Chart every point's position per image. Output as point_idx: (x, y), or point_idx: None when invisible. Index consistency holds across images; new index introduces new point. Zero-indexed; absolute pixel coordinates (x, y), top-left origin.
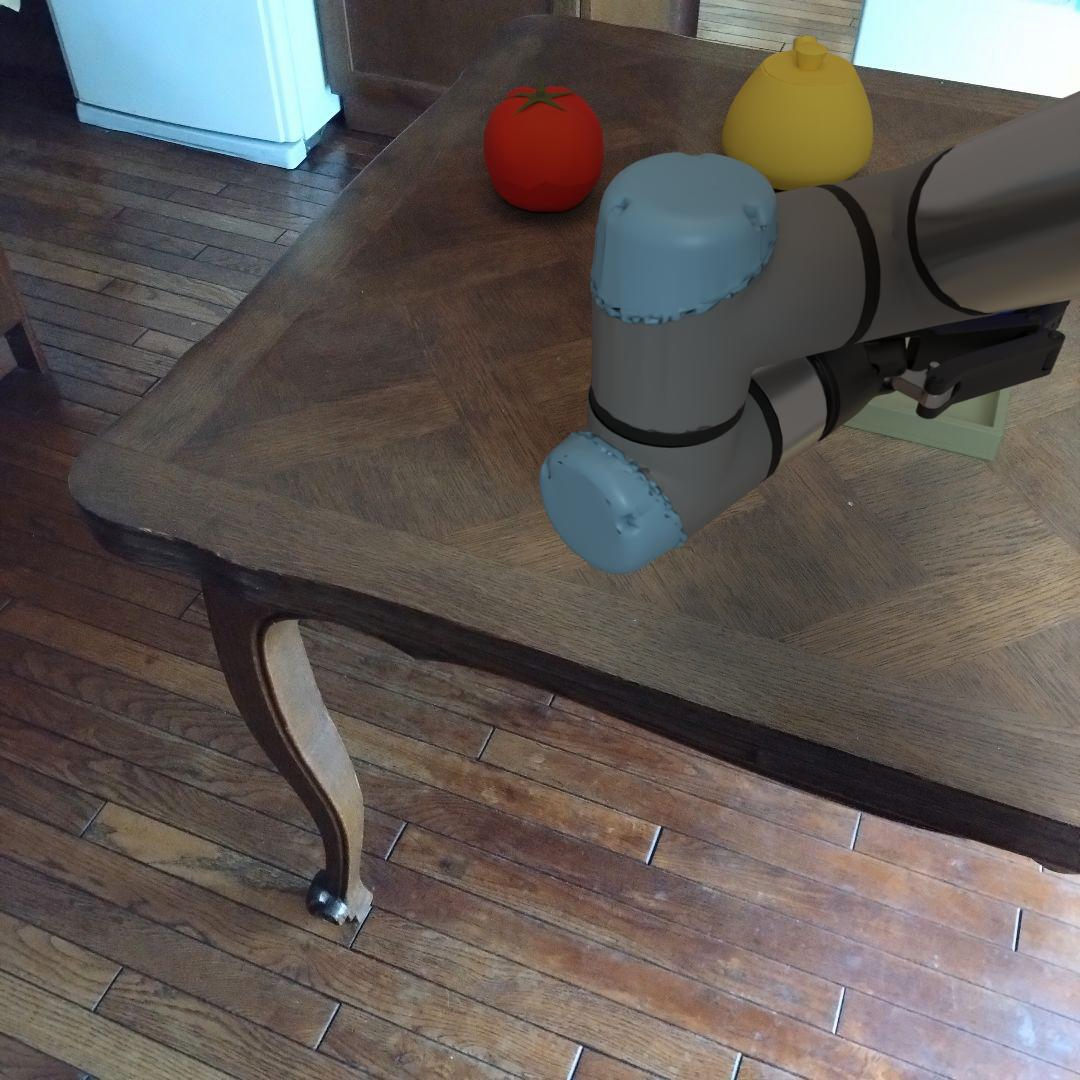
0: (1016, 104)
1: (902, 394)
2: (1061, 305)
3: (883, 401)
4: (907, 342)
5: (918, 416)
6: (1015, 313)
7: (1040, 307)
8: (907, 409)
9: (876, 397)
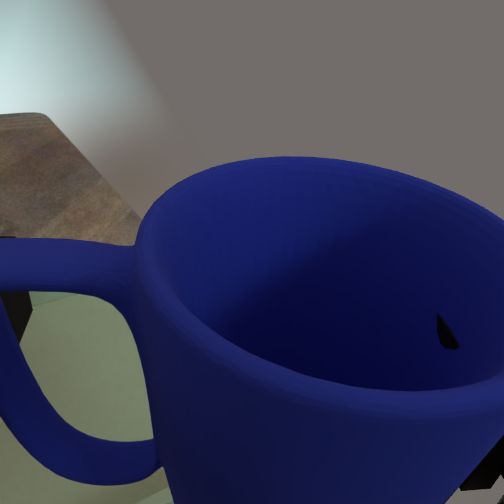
0: (7, 121)
1: None
2: None
3: (98, 489)
4: (66, 373)
5: (170, 501)
6: (499, 440)
7: None
8: (149, 501)
9: (85, 489)
